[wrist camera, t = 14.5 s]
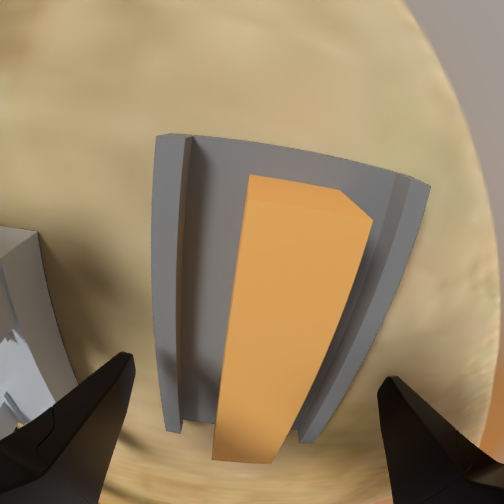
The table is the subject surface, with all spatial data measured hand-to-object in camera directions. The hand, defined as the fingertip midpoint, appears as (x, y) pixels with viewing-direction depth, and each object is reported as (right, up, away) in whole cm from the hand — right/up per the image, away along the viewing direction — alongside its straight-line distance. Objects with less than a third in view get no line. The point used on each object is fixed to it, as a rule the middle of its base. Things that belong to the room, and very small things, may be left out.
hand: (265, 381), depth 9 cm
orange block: (0, +1, +2) cm, 2 cm away
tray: (0, +1, +2) cm, 3 cm away
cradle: (-13, -1, +3) cm, 14 cm away
